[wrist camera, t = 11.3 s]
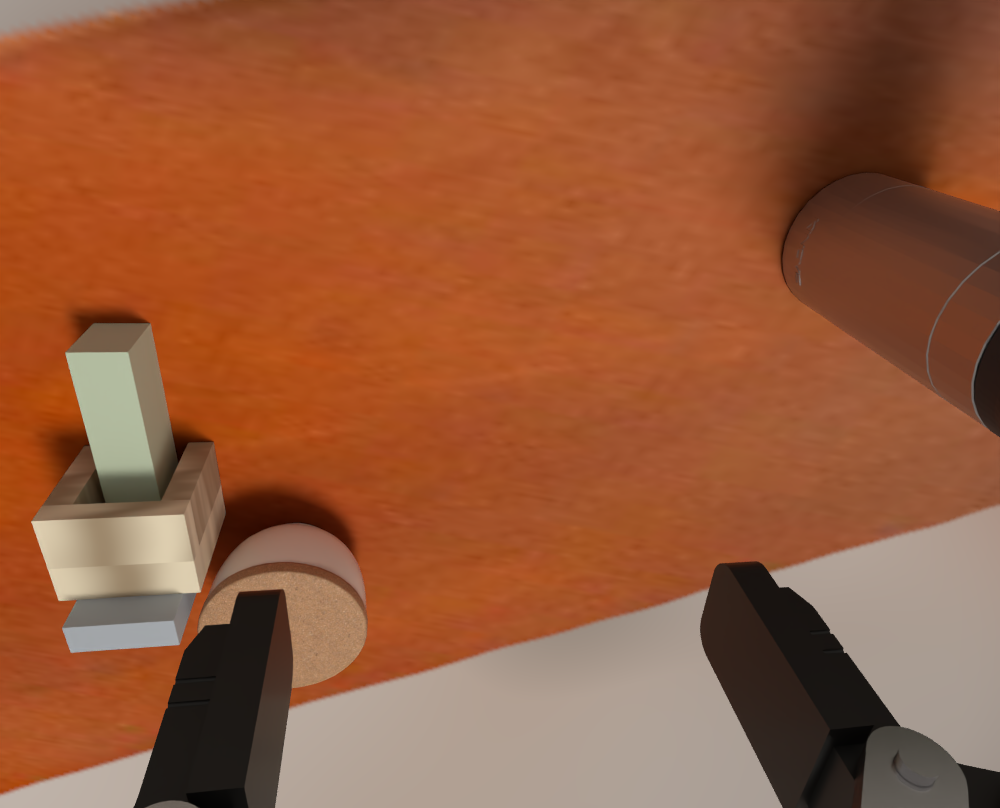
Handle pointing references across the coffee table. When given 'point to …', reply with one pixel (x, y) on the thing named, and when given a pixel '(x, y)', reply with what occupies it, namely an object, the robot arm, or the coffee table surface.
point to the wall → (127, 622)
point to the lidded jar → (299, 594)
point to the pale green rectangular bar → (124, 410)
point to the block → (132, 532)
